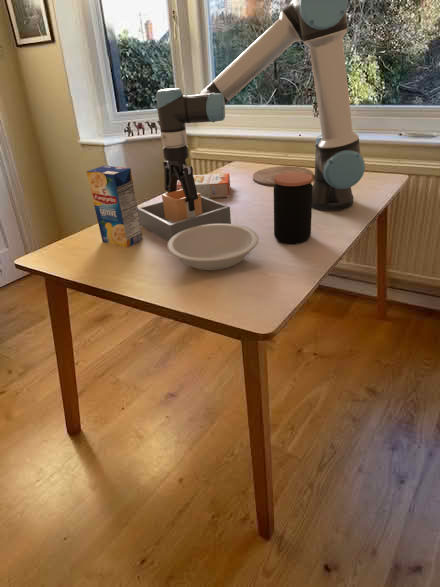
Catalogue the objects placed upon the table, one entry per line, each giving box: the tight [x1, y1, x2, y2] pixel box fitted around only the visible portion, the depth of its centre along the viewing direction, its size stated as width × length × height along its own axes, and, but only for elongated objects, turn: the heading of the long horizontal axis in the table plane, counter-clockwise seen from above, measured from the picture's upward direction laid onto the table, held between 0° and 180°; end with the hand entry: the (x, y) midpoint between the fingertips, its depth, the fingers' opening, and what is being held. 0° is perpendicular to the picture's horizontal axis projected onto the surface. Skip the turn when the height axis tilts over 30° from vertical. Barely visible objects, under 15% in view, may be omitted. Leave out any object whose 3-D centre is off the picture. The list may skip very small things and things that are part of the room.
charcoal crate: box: [137, 196, 232, 243], centre depth 141 cm, size 22×22×6 cm
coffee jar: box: [273, 172, 314, 245], centre depth 123 cm, size 11×11×18 cm
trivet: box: [252, 165, 314, 187], centre depth 181 cm, size 25×25×2 cm
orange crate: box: [161, 189, 202, 223], centre depth 139 cm, size 9×9×8 cm
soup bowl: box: [167, 223, 259, 271], centre depth 115 cm, size 24×24×7 cm
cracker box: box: [176, 172, 231, 199], centre depth 169 cm, size 14×6×21 cm
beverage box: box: [86, 165, 144, 249], centre depth 129 cm, size 7×11×22 cm, turn 57°
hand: (183, 216), depth 141 cm, fingers closed on orange crate, 9 cm apart
